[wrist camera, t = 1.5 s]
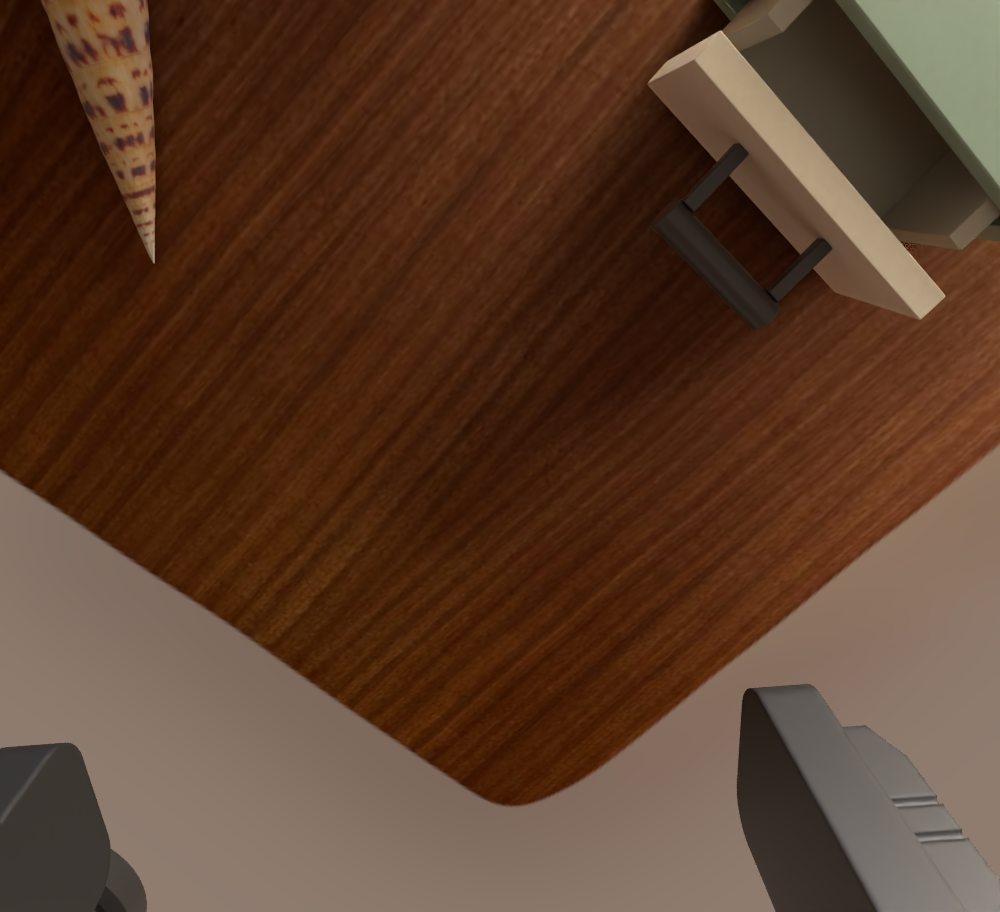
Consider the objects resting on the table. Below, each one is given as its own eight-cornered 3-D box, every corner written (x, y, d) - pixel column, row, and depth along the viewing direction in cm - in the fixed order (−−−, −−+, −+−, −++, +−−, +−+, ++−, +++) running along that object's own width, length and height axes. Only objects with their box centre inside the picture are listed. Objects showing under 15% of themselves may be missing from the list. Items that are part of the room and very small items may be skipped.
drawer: (764, 360, 35) (831, 401, 29) (574, 164, 32) (601, 162, 25) (1156, -15, 30) (1343, -67, 24) (980, -293, 27) (1141, -440, 20)
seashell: (135, -254, 27) (65, -344, 22) (198, 262, 33) (155, 277, 29) (8, -259, 27) (-89, -350, 22) (97, 261, 33) (36, 276, 29)
